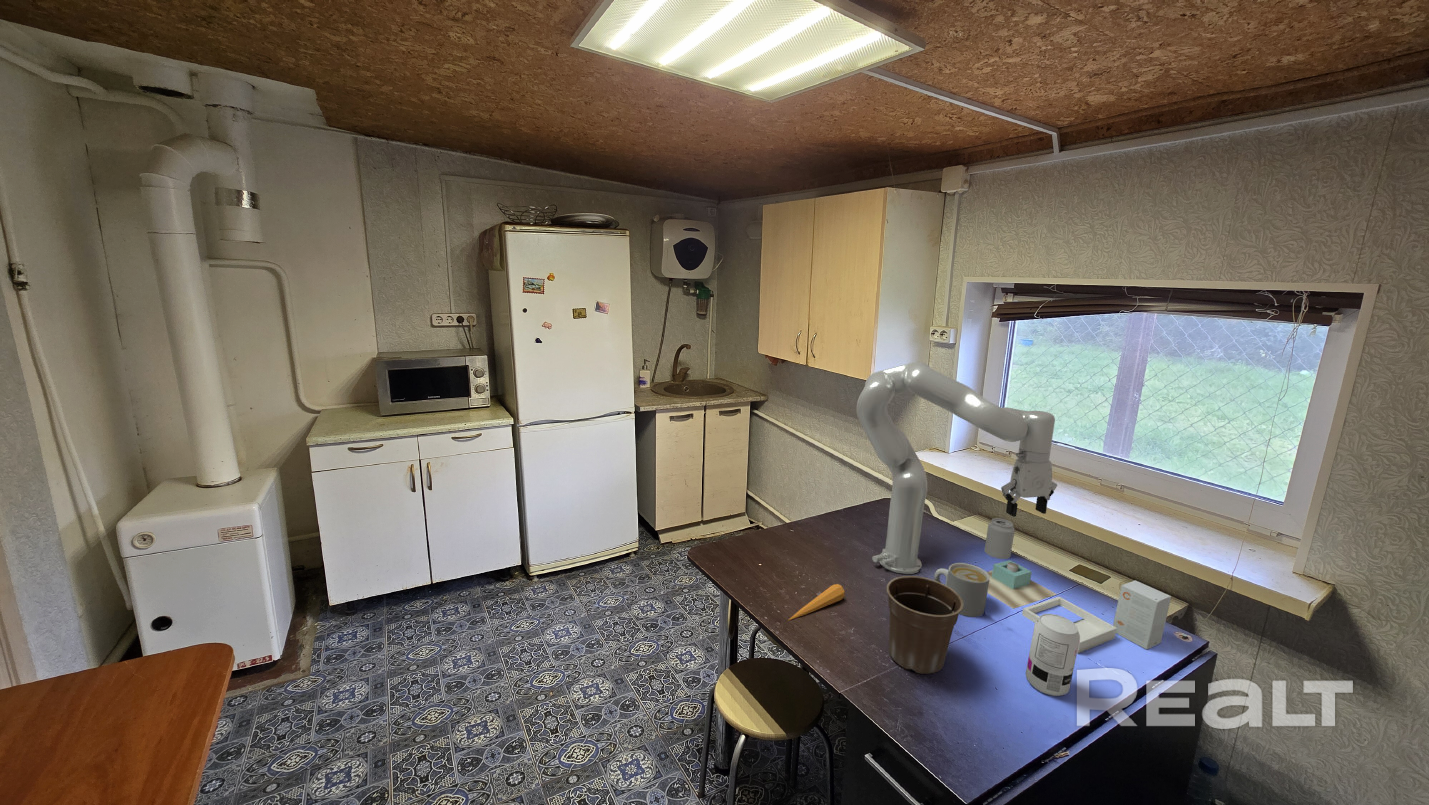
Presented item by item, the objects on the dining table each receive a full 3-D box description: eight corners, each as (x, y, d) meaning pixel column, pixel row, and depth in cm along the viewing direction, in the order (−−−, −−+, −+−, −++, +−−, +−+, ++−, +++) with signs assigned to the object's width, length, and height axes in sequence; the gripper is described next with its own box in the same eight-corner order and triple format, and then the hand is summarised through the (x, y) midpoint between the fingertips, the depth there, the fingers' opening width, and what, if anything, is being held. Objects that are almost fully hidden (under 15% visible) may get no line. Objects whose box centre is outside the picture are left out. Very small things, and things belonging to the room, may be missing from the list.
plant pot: (914, 627, 137) (922, 569, 134) (969, 668, 123) (979, 604, 120) (865, 645, 130) (871, 584, 126) (917, 690, 116) (926, 623, 112)
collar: (1013, 589, 154) (1015, 576, 153) (987, 574, 161) (989, 562, 160) (1029, 584, 157) (1031, 571, 156) (1003, 569, 164) (1005, 557, 163)
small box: (1161, 643, 134) (1172, 596, 131) (1146, 650, 131) (1158, 602, 128) (1124, 624, 141) (1135, 579, 138) (1110, 630, 138) (1120, 584, 135)
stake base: (1012, 612, 145) (1016, 591, 143) (963, 582, 159) (966, 562, 157) (1056, 598, 152) (1060, 578, 151) (1005, 570, 166) (1008, 551, 165)
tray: (1077, 653, 129) (1079, 642, 129) (1021, 618, 142) (1023, 608, 141) (1114, 638, 135) (1117, 628, 135) (1057, 606, 148) (1059, 596, 148)
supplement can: (1017, 671, 123) (1027, 612, 119) (1051, 670, 123) (1063, 611, 120) (1041, 698, 115) (1053, 636, 111) (1077, 697, 115) (1091, 635, 112)
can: (1004, 551, 178) (1009, 517, 175) (1014, 563, 170) (1020, 528, 168) (980, 549, 178) (985, 515, 176) (989, 561, 171) (994, 526, 168)
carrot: (837, 597, 151) (833, 581, 151) (849, 598, 147) (844, 582, 147) (784, 628, 140) (779, 611, 140) (795, 631, 136) (790, 613, 136)
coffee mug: (991, 609, 146) (997, 575, 144) (971, 621, 140) (977, 586, 138) (945, 585, 157) (950, 554, 154) (925, 596, 151) (929, 563, 149)
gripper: (1016, 462, 145) (1008, 521, 149) (1071, 458, 149) (1062, 516, 153) (996, 453, 153) (989, 510, 156) (1049, 449, 156) (1041, 505, 160)
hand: (1025, 513), depth 154 cm, fingers open, 9 cm apart
